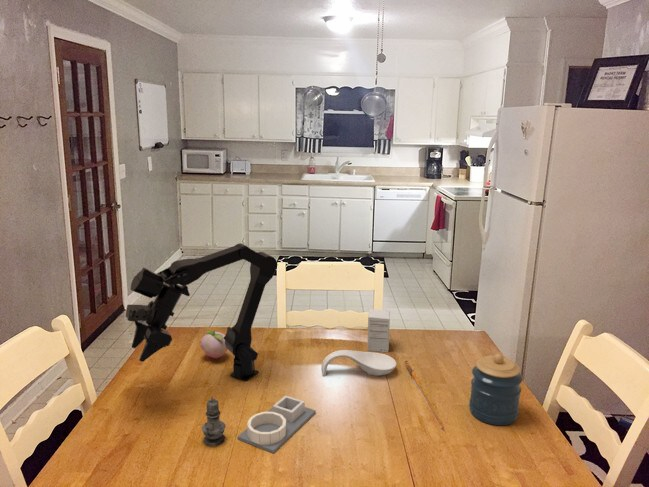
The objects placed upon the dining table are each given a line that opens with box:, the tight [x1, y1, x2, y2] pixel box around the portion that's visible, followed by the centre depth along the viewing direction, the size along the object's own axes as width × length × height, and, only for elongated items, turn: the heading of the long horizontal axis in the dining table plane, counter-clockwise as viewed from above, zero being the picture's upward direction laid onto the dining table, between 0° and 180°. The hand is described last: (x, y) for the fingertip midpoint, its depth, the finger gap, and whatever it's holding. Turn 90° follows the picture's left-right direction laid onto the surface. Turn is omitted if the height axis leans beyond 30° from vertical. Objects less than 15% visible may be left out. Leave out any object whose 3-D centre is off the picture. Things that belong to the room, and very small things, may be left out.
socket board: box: [237, 395, 317, 454], centre depth 138 cm, size 20×11×4 cm, turn 150°
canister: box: [468, 353, 524, 426], centre depth 143 cm, size 13×13×18 cm
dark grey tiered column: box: [201, 396, 227, 447], centre depth 131 cm, size 6×6×12 cm
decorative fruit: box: [200, 330, 228, 359], centre depth 173 cm, size 9×8×10 cm
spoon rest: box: [321, 349, 397, 377], centre depth 166 cm, size 24×12×7 cm, turn 96°
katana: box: [404, 360, 444, 429], centre depth 153 cm, size 1×35×3 cm, turn 7°
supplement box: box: [366, 309, 391, 353], centre depth 182 cm, size 7×7×13 cm
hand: (137, 354), depth 144 cm, fingers open, 9 cm apart
